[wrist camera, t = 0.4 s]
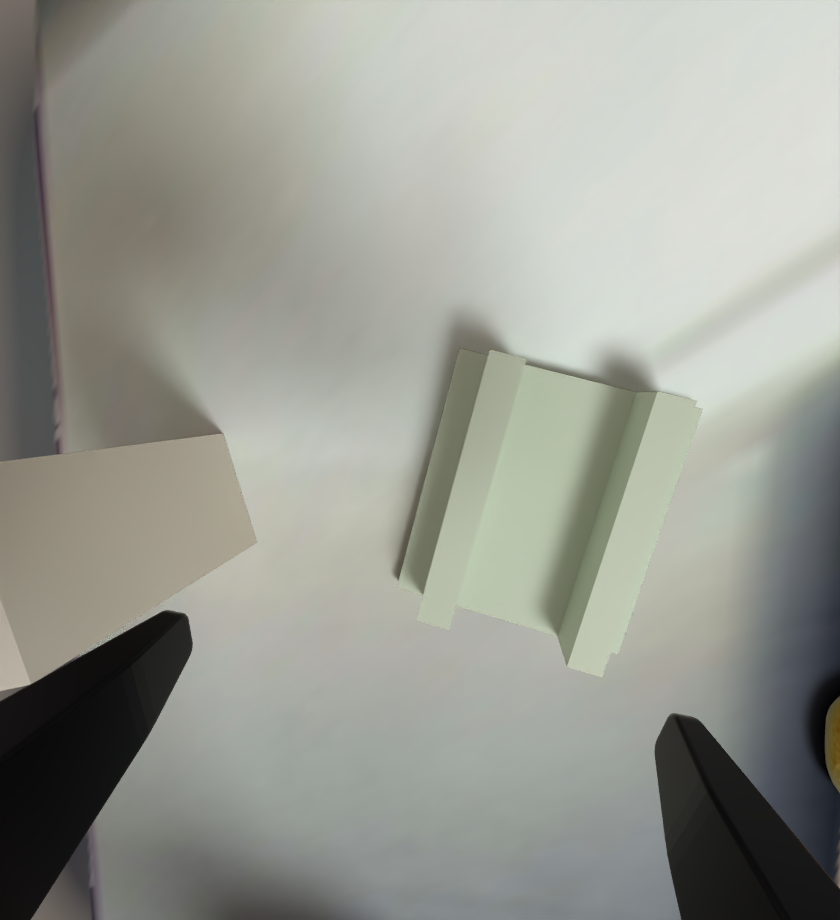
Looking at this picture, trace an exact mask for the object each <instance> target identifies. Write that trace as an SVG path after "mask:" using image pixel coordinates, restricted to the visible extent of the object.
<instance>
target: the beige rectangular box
mask: <svg viewBox="0 0 840 920" xmlns="http://www.w3.org/2000/svg"><path fill="white" fill-rule="evenodd" d="M256 543H257V541H256V538H255V535H254V531H253V528H252V525H251V522H250V518H249V515H248V512H247V509H246V506H245V502H244V499H243V496H242V493H241V489H240V486H239V483H238V480H237V476H236V473H235V470H234V467H233V463H232V460H231V457H230V454H229V450H228V447H227V444H226V441H225V438H224V434H223V433H222V434H214V435H206V436H198V437H191V438H183V439H175V440H167V441H159V442H152V443H144V444H136V445H128V446H121V447H113V448H105V449H97V450H89V451H82V452H74V453H66V454H58V455H50V456H43V457H35V458H27V459H19V460H11V461H4V462H0V691H3V690H7V689H12V688H17V687H22V686H26V685H30V684H32V683H34V682H36V681H37V680H39V679H41V678H42V677H44V676H45V675H47V674H49V673H50V672H52V671H53V670H55V669H57V668H58V667H60V666H61V665H63V664H65V663H66V662H67V661H69V660H71V659H73V658H74V657H76V656H77V655H79V654H80V653H82V652H84V651H85V650H87V649H88V648H90V647H92V646H93V645H95V644H96V643H98V642H100V641H101V640H103V639H104V638H106V637H108V636H109V635H111V634H112V633H114V632H116V631H117V630H119V629H120V628H122V627H123V626H125V625H127V624H128V623H130V622H131V621H133V620H135V619H136V618H138V617H139V616H141V615H143V614H144V613H146V612H147V611H149V610H151V609H152V608H154V607H155V606H157V605H159V604H160V603H162V602H163V601H165V600H167V599H168V598H170V597H171V596H173V595H174V594H176V593H178V592H179V591H181V590H182V589H184V588H186V587H187V586H189V585H190V584H192V583H194V582H195V581H197V580H198V579H200V578H202V577H203V576H205V575H206V574H208V573H210V572H211V571H213V570H214V569H216V568H217V567H219V566H221V565H222V564H224V563H225V562H227V561H229V560H230V559H232V558H233V557H235V556H237V555H238V554H240V553H241V552H243V551H245V550H246V549H248V548H249V547H251V546H253V545H254V544H256Z"/></svg>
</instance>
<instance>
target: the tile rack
mask: <svg viewBox="0 0 840 920" xmlns="http://www.w3.org/2000/svg"><path fill="white" fill-rule="evenodd" d="M525 362H526V358H522V357H518V356H514V355H510V354H506V353H502V352H498V351H494V350H490V351H489V354H488V355H485V354H481V353H477V352H473V351H469V350H465V349H461V348H459V352H458V356H457V359H456V363H455V367H454V371H453V375H452V379H451V382H450V386H449V390H448V394H447V398H446V401H445V405H444V409H443V413H442V417H441V421H440V424H439V428H438V432H437V436H436V440H435V443H434V447H433V451H432V455H431V459H430V463H429V466H428V470H427V474H426V478H425V482H424V485H423V489H422V493H421V497H420V501H419V504H418V508H417V512H416V516H415V520H414V524H413V527H412V531H411V535H410V539H409V543H408V546H407V550H406V554H405V558H404V562H403V566H402V569H401V573H400V577H399V581H398V585H397V588H399V589H402V590H406V591H409V592H412V593H416V594H419V595H422V596H423V597H422V601H421V604H420V608H419V612H418V615H417V619H416V621H419V622H423V623H426V624H429V625H432V626H436V627H439V628H442V629H445V630H449V629H450V626H451V622H452V619H453V615H454V612H455V608H456V606H459V607H462V608H465V609H468V610H472V611H475V612H478V613H482V614H485V615H488V616H492V617H495V618H498V619H502V620H505V621H508V622H511V623H515V624H518V625H521V626H525V627H528V628H531V629H535V630H538V631H541V632H545V633H548V634H551V635H555V636H558V639H559V643H560V646H561V649H562V652H563V656H564V659H565V662H566V665H567V667H569V668H572V669H576V670H579V671H582V672H585V673H589V674H592V675H595V676H598V677H602V676H603V673H604V671H605V668H606V665H607V662H608V659H609V656H610V653H614V654H617V655H618V653H619V650H620V647H621V644H622V641H623V638H624V635H625V633H626V630H627V627H628V624H629V621H630V618H631V615H632V612H633V609H634V606H635V604H636V601H637V598H638V595H639V592H640V589H641V586H642V583H643V580H644V578H645V575H646V572H647V569H648V566H649V563H650V560H651V557H652V554H653V552H654V549H655V546H656V543H657V540H658V537H659V534H660V531H661V528H662V525H663V523H664V520H665V517H666V514H667V511H668V508H669V505H670V502H671V499H672V497H673V494H674V491H675V488H676V485H677V482H678V479H679V476H680V473H681V471H682V468H683V465H684V462H685V459H686V456H687V453H688V450H689V447H690V444H691V442H692V439H693V436H694V433H695V430H696V427H697V424H698V421H699V418H700V416H701V413H702V410H703V409H701V408H697V407H695V405H696V402H697V401H695V400H691V399H687V398H683V397H679V396H675V395H671V394H667V393H663V392H659V391H653V392H633V391H629V390H625V389H621V388H617V387H613V386H609V385H605V384H601V383H597V382H593V381H589V380H585V379H581V378H577V377H573V376H569V375H565V374H561V373H557V372H553V371H549V370H545V369H541V368H537V367H533V366H529V365H525Z"/></svg>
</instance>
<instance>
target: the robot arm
mask: <svg viewBox="0 0 840 920" xmlns="http://www.w3.org/2000/svg"><path fill="white" fill-rule="evenodd" d="M192 645H193V642H192V636H191V631H190V625H189V620H188V617H187V615H186V614H184V613H180V612H175V611H170V610H166V611H162V612H160V613H158V614H157V615H155V616H153V617H151V618H149V619H148V620H146V621H144V622H142V623H140V624H139V625H137V626H135V627H133V628H131V629H129V630H128V631H126V632H124V633H122V634H120V635H119V636H117V637H115V638H113V639H111V640H110V641H108V642H106V643H104V644H102V645H101V646H99V647H97V648H95V649H93V650H92V651H90V652H88V653H86V654H84V655H82V656H81V657H79V658H77V659H75V660H73V661H72V662H70V663H68V664H67V665H64V666H63V667H61V668H59V669H57V670H55V671H54V672H52V673H50V674H48V675H46V676H45V677H43V678H41V679H39V680H37V681H36V682H34V683H32V684H30V685H28V686H26V687H25V688H23V689H21V690H19V691H18V692H16V693H14V694H12V695H10V696H8V697H7V698H5V699H3V700H1V701H0V920H31V918H32V917H33V915H34V914H35V912H36V911H37V909H38V908H39V906H40V904H41V903H42V901H43V900H44V898H45V897H46V895H47V893H48V892H49V890H50V889H51V887H52V886H53V884H54V883H55V881H56V879H57V878H58V876H59V875H60V873H61V872H62V870H63V868H64V867H65V865H66V863H67V862H68V861H69V859H70V857H71V856H72V854H73V853H74V851H75V849H76V848H77V847H78V845H79V843H80V842H81V840H82V838H83V837H84V836H85V834H86V833H87V831H88V829H89V828H90V826H91V825H92V823H93V822H94V820H95V818H96V817H97V815H98V814H99V812H100V811H101V809H102V807H103V806H104V804H105V803H106V801H107V800H108V798H109V797H110V795H111V793H112V792H113V790H114V789H115V787H116V786H117V784H118V782H119V781H120V779H121V778H122V776H123V775H124V773H125V772H126V770H127V768H128V767H129V765H130V764H131V762H132V761H133V759H134V757H135V756H136V754H137V753H138V751H139V750H140V748H141V747H142V745H143V743H144V742H145V740H146V738H147V737H148V735H149V733H150V732H151V730H152V728H153V726H154V724H155V723H156V721H157V719H158V717H159V715H160V713H161V711H162V709H163V707H164V705H165V703H166V701H167V699H168V697H169V695H170V694H171V692H172V690H173V688H174V686H175V684H176V682H177V680H178V678H179V676H180V674H181V672H182V670H183V668H184V666H185V664H186V662H187V661H188V659H189V657H190V654H191V651H192ZM655 761H656V769H657V777H658V786H659V794H660V802H661V810H662V818H663V826H664V834H665V842H666V849H667V855H668V860H669V865H670V870H671V875H672V880H673V884H674V889H675V893H676V898H677V902H678V907H679V911H680V916H681V920H840V888H839V887H838V886H837V885H836V883H835V882H834V881H833V880H832V879H831V877H830V876H829V875H828V874H827V873H826V871H825V870H824V869H823V868H822V867H821V865H820V864H819V863H818V862H817V861H816V859H815V858H814V857H813V856H812V855H811V853H810V852H809V851H808V850H807V849H806V847H805V846H804V845H803V844H802V843H801V841H800V840H799V839H798V838H797V837H796V835H795V834H794V833H793V832H792V831H791V829H790V828H789V827H788V826H787V825H786V823H785V822H784V821H783V820H782V819H781V817H780V816H779V815H778V814H777V813H776V811H775V810H774V809H773V808H772V807H771V805H770V804H769V803H768V802H767V801H766V799H765V798H764V797H763V796H762V795H761V793H760V792H759V791H758V790H757V789H756V787H755V786H754V785H753V784H752V783H751V781H750V780H749V779H748V778H747V777H746V775H745V774H744V773H743V772H742V771H741V769H740V768H739V767H738V766H737V765H736V763H735V762H734V761H733V760H732V759H731V757H730V756H729V755H728V754H727V753H726V751H725V750H724V749H723V748H722V747H721V745H720V744H719V743H718V742H717V741H716V739H715V738H714V737H713V736H712V735H711V733H710V732H709V731H708V730H707V729H706V727H705V726H704V725H703V724H702V723H701V722H700V721H699V720H698V719H696V718H694V717H691V716H686V715H681V714H676V713H673V714H671V715H669V717H668V718H667V720H666V722H665V724H664V726H663V728H662V730H661V732H660V734H659V736H658V738H657V741H656V744H655Z"/></svg>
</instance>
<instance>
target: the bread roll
mask: <svg viewBox="0 0 840 920" xmlns="http://www.w3.org/2000/svg"><path fill="white" fill-rule="evenodd" d="M825 758H826V765H827V769H828V773H829V775H830V778H831V780H832V782H833V784H834V786H835V787H836V788H837V790H838V791H839V793H840V696H839V697H838V698H837V699H836V700H835V701H834V702H833V703H832V705H831V706H830V708H829V710H828V713H827V716H826V725H825Z"/></svg>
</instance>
